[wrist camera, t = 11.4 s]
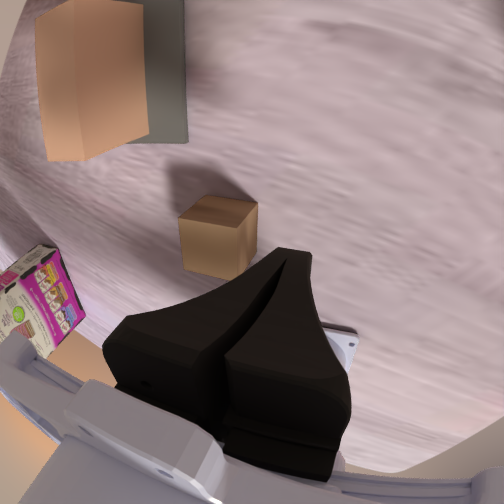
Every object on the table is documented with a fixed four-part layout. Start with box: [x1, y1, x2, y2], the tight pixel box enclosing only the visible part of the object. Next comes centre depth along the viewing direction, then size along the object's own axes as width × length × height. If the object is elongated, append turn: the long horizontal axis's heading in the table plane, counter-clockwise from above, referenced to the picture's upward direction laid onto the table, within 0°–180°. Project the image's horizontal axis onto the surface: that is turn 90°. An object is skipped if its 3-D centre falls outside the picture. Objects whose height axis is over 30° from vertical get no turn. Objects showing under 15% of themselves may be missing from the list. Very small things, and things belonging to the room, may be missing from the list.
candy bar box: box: [0, 244, 86, 359], centre depth 30 cm, size 11×5×16 cm, turn 4°
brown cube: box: [178, 195, 258, 281], centre depth 22 cm, size 4×4×4 cm
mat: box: [113, 0, 189, 144], centre depth 19 cm, size 12×10×1 cm
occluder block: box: [35, 0, 149, 162], centre depth 17 cm, size 10×4×6 cm, turn 1°
